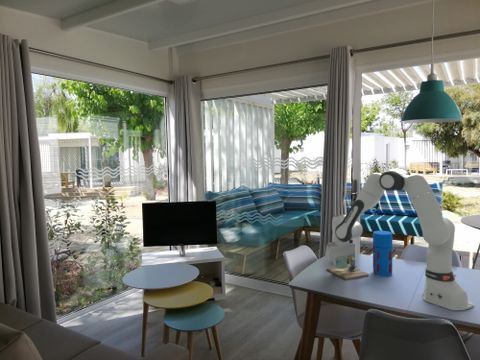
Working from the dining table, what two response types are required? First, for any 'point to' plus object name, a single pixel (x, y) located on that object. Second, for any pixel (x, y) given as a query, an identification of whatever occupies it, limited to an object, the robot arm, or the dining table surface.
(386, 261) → the thermos
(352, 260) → the metal door knob
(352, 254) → the chalk box
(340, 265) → the rotary switch
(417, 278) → the dining table surface
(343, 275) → the board
